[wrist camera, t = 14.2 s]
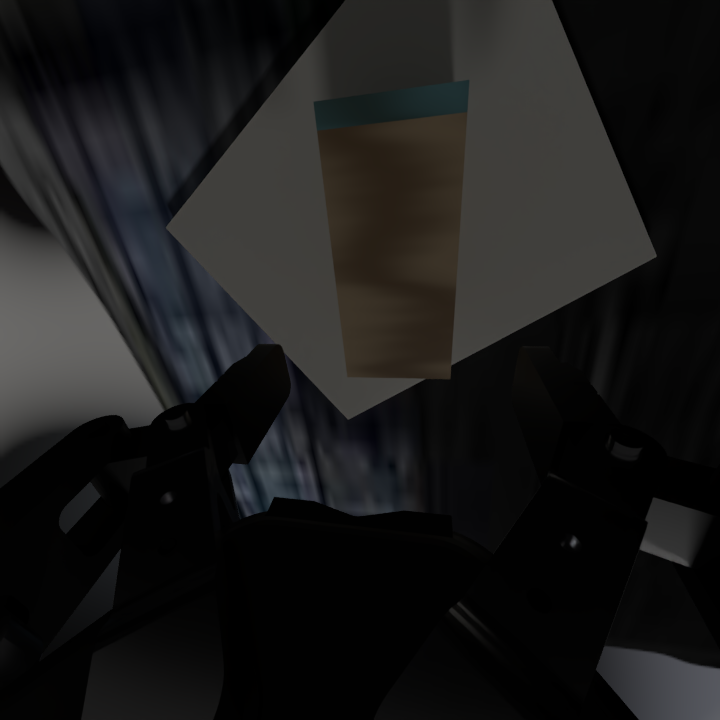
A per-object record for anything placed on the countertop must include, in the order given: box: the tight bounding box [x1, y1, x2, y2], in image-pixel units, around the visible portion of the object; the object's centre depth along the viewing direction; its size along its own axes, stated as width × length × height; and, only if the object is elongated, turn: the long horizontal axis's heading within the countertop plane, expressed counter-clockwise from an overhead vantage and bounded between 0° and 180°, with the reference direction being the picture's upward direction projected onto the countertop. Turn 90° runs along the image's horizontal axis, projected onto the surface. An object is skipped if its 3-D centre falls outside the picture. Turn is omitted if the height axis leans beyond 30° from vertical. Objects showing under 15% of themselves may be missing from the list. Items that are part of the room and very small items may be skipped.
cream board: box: [166, 0, 657, 419], centre depth 18 cm, size 20×17×1 cm
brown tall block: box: [313, 80, 469, 379], centre depth 15 cm, size 5×5×11 cm
